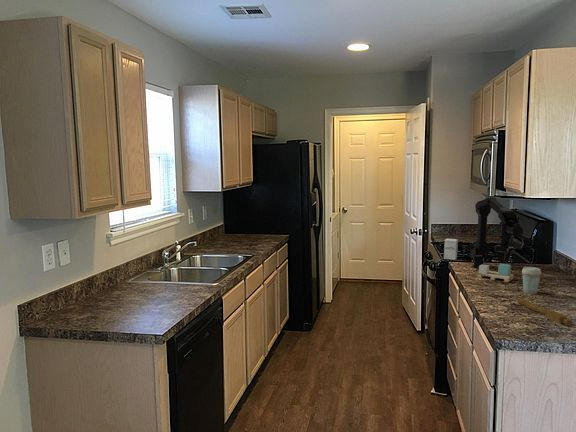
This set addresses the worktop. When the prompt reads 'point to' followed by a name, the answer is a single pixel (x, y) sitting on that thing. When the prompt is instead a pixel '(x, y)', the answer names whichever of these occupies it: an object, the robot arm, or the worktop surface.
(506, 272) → the teal cube box
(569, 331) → the worktop surface
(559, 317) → the tap handle
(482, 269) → the gray cube
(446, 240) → the supplement box
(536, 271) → the coffee cup
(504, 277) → the pallet dock
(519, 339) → the worktop surface
